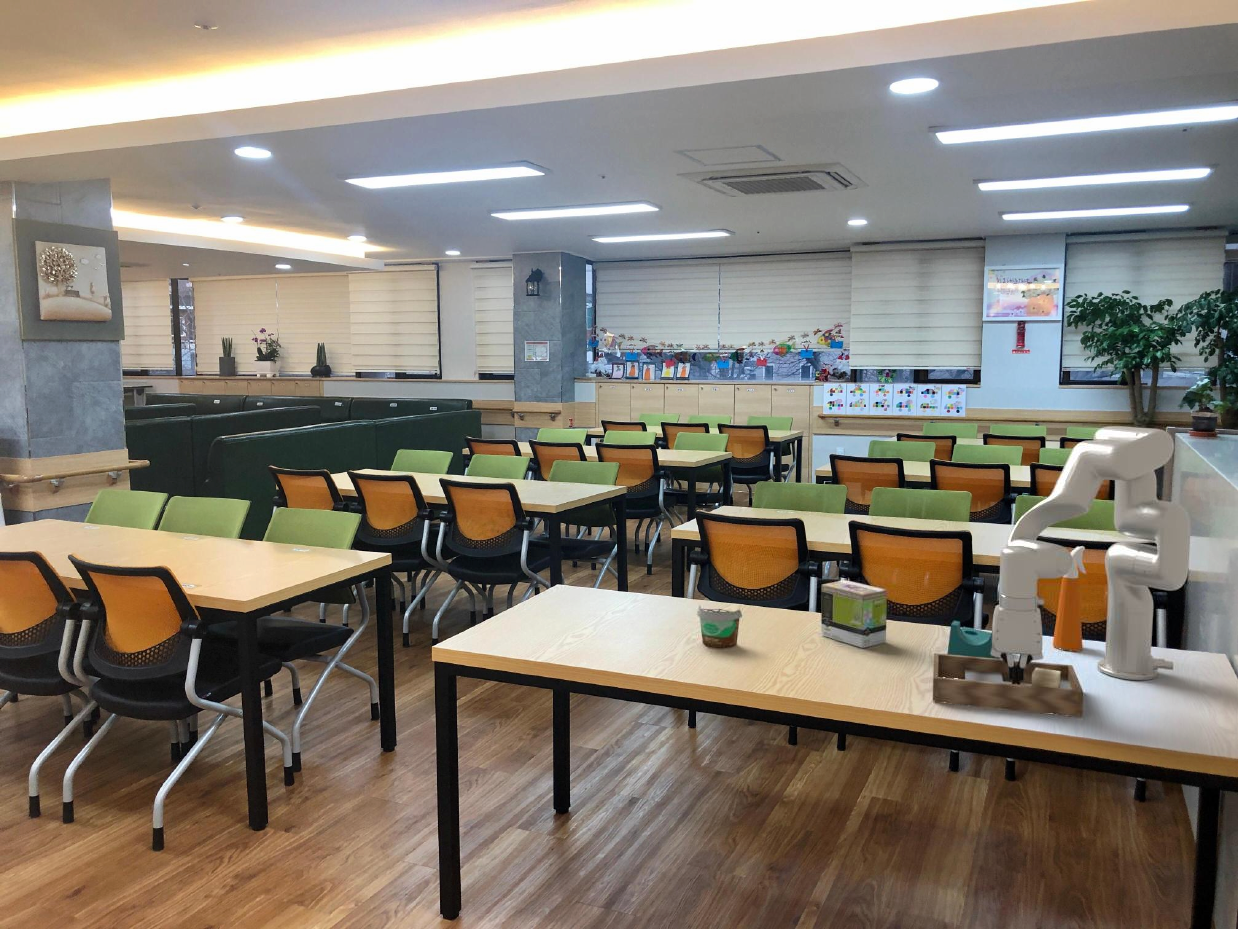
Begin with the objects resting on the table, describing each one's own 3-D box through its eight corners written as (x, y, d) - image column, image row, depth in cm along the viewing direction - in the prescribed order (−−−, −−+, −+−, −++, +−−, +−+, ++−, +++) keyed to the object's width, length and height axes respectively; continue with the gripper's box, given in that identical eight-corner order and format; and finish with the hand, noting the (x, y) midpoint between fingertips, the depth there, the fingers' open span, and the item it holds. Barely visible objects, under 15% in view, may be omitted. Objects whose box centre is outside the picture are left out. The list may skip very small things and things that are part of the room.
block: (1059, 693, 201) (1060, 671, 200) (1056, 700, 197) (1057, 678, 196) (1034, 689, 203) (1035, 667, 203) (1031, 696, 199) (1031, 674, 199)
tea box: (887, 642, 246) (888, 588, 245) (862, 649, 241) (863, 594, 239) (844, 629, 259) (845, 578, 257) (819, 635, 253) (820, 583, 252)
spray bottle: (1095, 645, 241) (1099, 547, 238) (1073, 653, 235) (1077, 552, 232) (1069, 639, 247) (1073, 543, 244) (1047, 646, 241) (1051, 548, 238)
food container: (691, 647, 245) (691, 610, 244) (698, 640, 250) (697, 605, 249) (736, 652, 240) (736, 615, 239) (742, 645, 246) (742, 609, 245)
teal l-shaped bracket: (992, 675, 222) (997, 634, 220) (945, 664, 227) (951, 624, 225) (1004, 654, 237) (1009, 616, 235) (960, 644, 242) (965, 607, 241)
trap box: (1071, 688, 210) (1072, 665, 210) (1082, 717, 194) (1083, 692, 193) (933, 675, 220) (934, 653, 220) (932, 702, 204) (933, 678, 203)
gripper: (1053, 600, 202) (1050, 680, 204) (980, 596, 207) (979, 674, 209) (1057, 609, 195) (1054, 692, 197) (981, 604, 200) (980, 685, 202)
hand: (1015, 682), depth 203 cm, fingers closed
